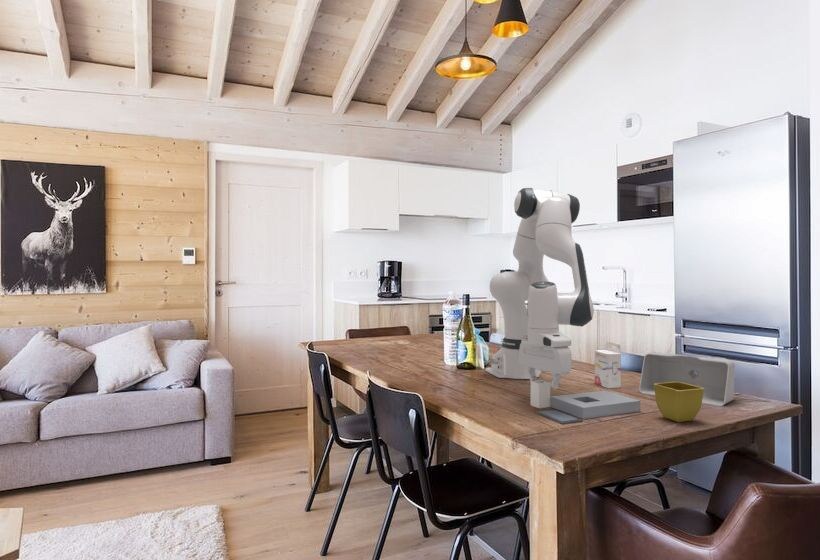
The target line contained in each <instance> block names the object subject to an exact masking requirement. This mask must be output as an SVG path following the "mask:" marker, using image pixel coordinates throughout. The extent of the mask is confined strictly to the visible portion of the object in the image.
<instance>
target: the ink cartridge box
mask: <svg viewBox="0 0 820 560" xmlns="http://www.w3.org/2000/svg"><path fill="white" fill-rule="evenodd" d="M605 346H606V349H596V350H594V384H596V385H599V386H601V387H604V388H606V389H619V388H622V384H621V382H622V381H621V380H622V379H621V377H622V374H621V373H622V353H621V344H619V343H616V342H611V341H606V342H605ZM612 346H613V347H612Z"/></svg>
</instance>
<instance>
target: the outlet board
mask: <svg viewBox="0 0 820 560" xmlns="http://www.w3.org/2000/svg"><path fill="white" fill-rule="evenodd" d="M549 408H551V409H552V408H553V409H555V410H557V411H560V412H563V413H565V414H568V415H570V416H573V417H576V418H578V419H581V420H585V419H587V420H588V419H594V418H602V417H607V416H608V417H609V416H617V415H622V414H623V415H624V414H631V413H638V412H641V400H639V399H636V398H632V397H628V396H625V395H622V394H618V393H614V392H611V391H607V390H595V391H590V392H588V391H587V392H577V393H570V394H560V395H553V396H552V395H550V407H549Z"/></svg>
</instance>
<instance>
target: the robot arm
mask: <svg viewBox="0 0 820 560" xmlns="http://www.w3.org/2000/svg"><path fill="white" fill-rule="evenodd" d="M513 207H514V213H515V214H516V216H518V217H519V218H521V220H520V223H519V226H518V229H517V233H516V235H515V241H514V245H513V249H512V255H513V257H514V258H515V259H516V260H517V261H518V270H517V271H503V272H499V273H496V274H494V275H493V276H492V277H491V279H490V283H489V291H490V292H489V293H490V294H491V296H492V297H493V298H494V299H495V300H496V302H498V304H499V306H500V308H501V311H502V314H503V321H504V322H503V323H504V337H503V338H501V340H500V342H501V348H500V349H499V350H497V352H495V353H494V354H493V355H492V358H491V366H490V367H486V368H485V372H486V373H489V374H491V375H492V376H494V377H496V378H498V379H499V378H500V379H513V380H529V382H530V383H531V381H536V380H539V379H538V378H539V377H540V375H542V371H543V372H547V373H551V376H552V381H549V383H550V389H554V390H557V389H559V382H560V380H561V378H562V375H569V374H570V373H571V372H572V369H573V361H572V359H573V358H572V355H573V354H572V350H571V348H570V347H571V346H572V339H571V338H570V337H568V336H567V335H565V334H564V333H563V332H561V331H560V325H561V326H562V325H563V326H567V325H570V326H575V327H584V326H586V325H587V324H588V323H590V322H591V321H592V320H593V317H594V313H595V312H594V303H593V300H592V297H591V295H590V288H589V283H588V281H589V280H588V275H587V269H586V263H585V259H584V254H583V250H582V247H581V245H580V244H579V243H577V242H575V240H574V238H573V235H572V224H574V223H575V222H576V221H577V219H578V217H579V213H580V210H581V209H580V207H581V206H580V201H579V199H578V197H576V196H574V195H573V194H569V193H567V194H566V193H563V192H559V191H556V190H552V189H550V190H547V189H539V188H532V187H523V188H522V189H520V190H519V191H518V192H517V194H516V196H515V198H514V205H513ZM544 256H545V257H548V258H549V259H552V260H555V261H558V262H561V263H563V264H566V265H567V266H569V267H570V268H571V272H572V279H573V284H574V291H572V292H558V290H557V289H558V288H557V285H556V283H555V282H553V281H549V279H548V277H547V276H546V274H545V272H544V266H543V265H544V264H543V263H544ZM526 301H527V302H526ZM526 303H527V304H526Z"/></svg>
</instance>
